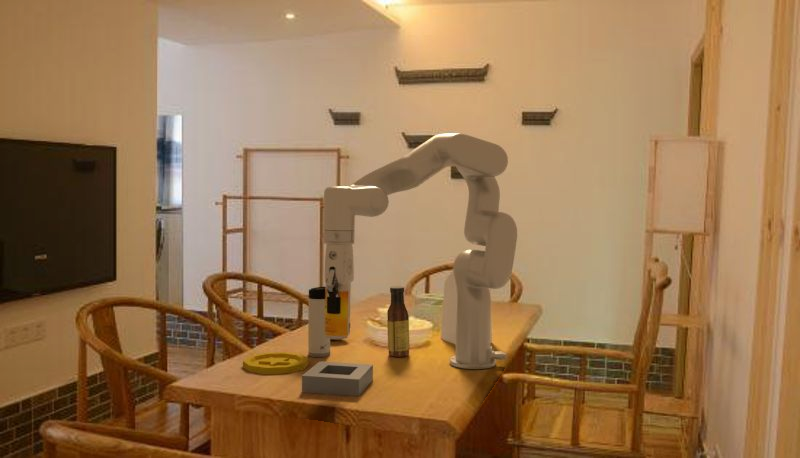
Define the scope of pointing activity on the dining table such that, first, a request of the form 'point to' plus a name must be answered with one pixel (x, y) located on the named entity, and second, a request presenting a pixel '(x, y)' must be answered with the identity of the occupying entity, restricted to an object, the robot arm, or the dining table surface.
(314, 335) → the travel mug
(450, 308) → the milk
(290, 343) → the dining table surface
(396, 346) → the sauce bottle
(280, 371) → the decorative disc
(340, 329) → the beer can
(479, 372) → the dining table surface
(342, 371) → the socket dock
